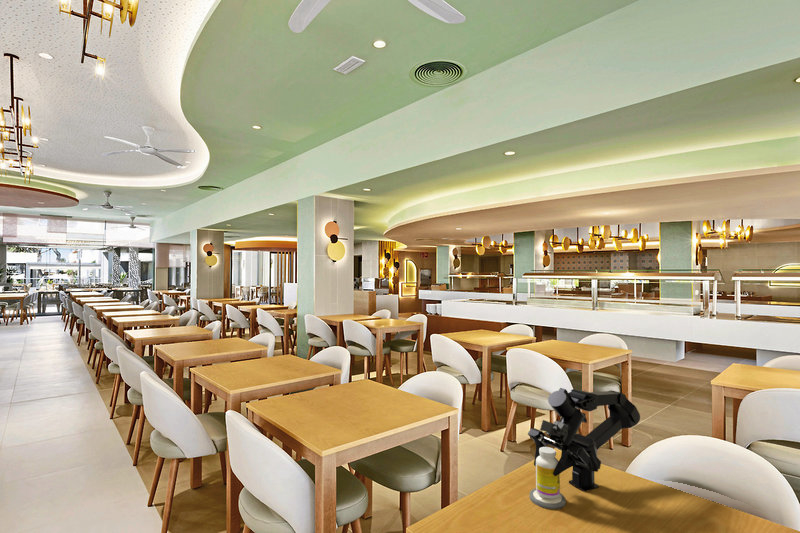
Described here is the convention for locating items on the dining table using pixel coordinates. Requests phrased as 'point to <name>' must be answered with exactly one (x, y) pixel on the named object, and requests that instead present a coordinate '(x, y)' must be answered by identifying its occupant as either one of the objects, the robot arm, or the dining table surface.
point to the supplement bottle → (547, 474)
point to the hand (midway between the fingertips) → (544, 470)
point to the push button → (547, 500)
